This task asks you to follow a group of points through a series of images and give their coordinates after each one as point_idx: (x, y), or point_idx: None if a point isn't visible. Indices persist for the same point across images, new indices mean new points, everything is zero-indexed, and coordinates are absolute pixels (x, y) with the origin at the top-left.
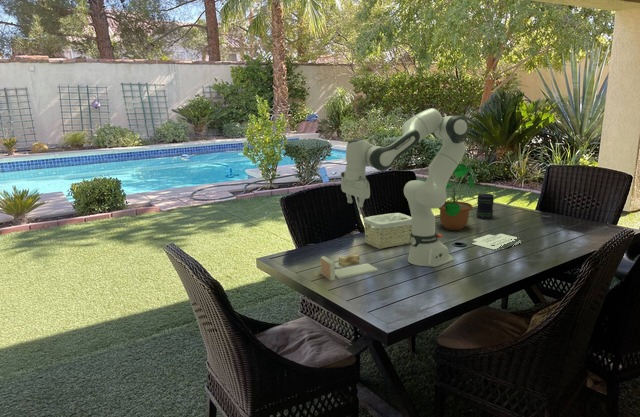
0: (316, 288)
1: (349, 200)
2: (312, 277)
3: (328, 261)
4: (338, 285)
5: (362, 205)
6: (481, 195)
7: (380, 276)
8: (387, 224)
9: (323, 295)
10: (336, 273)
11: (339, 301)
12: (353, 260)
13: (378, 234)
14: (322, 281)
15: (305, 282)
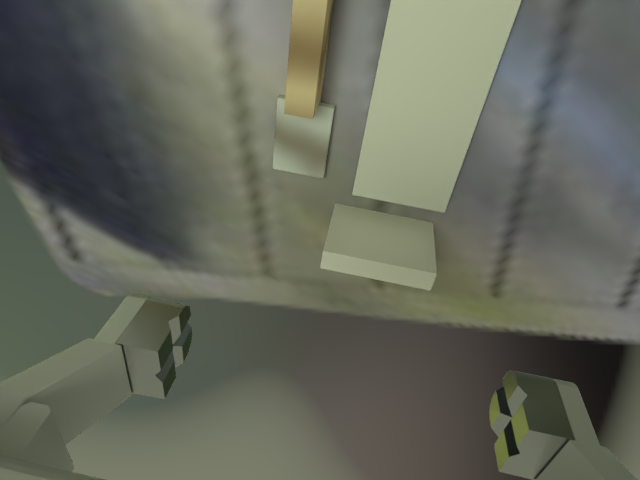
0: (447, 310)
1: (169, 381)
2: None
3: (400, 281)
4: (492, 248)
5: (578, 410)
6: None
7: (599, 21)
8: None
9: (514, 327)
10: (400, 195)
11: (599, 324)
12: (327, 24)
13: None
14: None
15: (373, 303)
